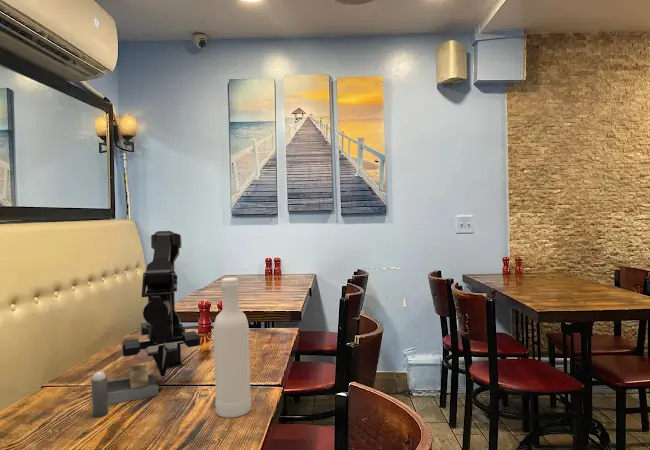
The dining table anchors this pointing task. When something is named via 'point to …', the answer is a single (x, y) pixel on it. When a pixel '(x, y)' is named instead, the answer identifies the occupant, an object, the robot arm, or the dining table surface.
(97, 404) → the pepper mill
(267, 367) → the dining table surface
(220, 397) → the bottle
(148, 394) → the grey open tray
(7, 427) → the dining table surface
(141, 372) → the block
